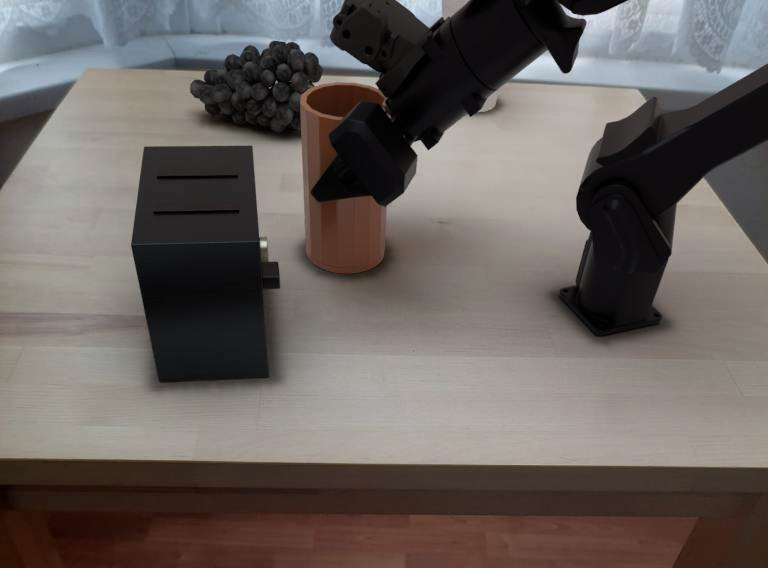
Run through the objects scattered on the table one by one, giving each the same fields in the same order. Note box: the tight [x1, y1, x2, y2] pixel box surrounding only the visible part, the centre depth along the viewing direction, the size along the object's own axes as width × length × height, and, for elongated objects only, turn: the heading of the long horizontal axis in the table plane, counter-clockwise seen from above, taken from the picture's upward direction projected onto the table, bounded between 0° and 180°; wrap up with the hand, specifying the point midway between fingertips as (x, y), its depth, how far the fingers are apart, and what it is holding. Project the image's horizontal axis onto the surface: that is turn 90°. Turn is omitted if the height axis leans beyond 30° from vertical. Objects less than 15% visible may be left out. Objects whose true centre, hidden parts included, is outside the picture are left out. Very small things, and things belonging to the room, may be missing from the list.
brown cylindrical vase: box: [300, 81, 391, 274], centre depth 66 cm, size 7×7×13 cm
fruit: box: [189, 40, 324, 133], centre depth 85 cm, size 9×8×15 cm
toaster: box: [130, 145, 281, 383], centre depth 58 cm, size 9×14×11 cm, turn 8°
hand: (329, 176), depth 66 cm, fingers closed on brown cylindrical vase, 7 cm apart
